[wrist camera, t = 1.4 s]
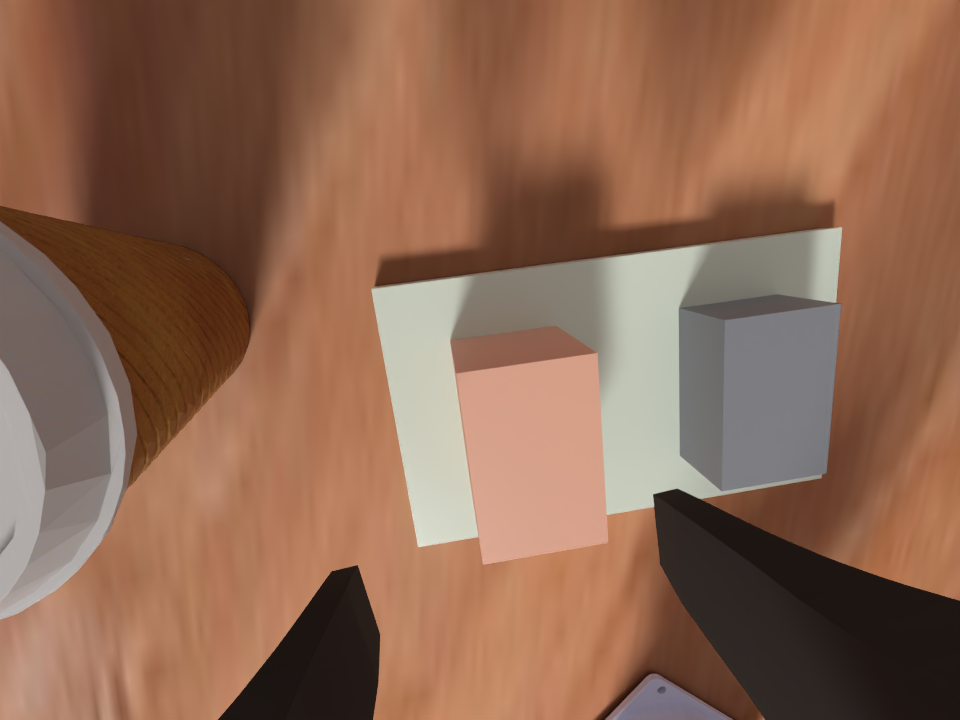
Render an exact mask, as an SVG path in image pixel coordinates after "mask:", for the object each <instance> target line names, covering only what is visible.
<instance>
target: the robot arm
mask: <svg viewBox="0 0 960 720" xmlns="http://www.w3.org/2000/svg"><path fill="white" fill-rule="evenodd" d="M653 499H654V509H655V518H656V528H657V537H658V546H659V556H660V565H661V566H662V568H663V570H664V572H665V574H666V576H667V577H668V579H669V581H670V583H671V585H672V587H673V588H674V590H675V592H676V593H677V595H678V597H679V599H680V600H681V602H682V604H683V605H684V607H685V608H686V610H687V611H688V612H689V614H690V615H691V617H692V618H693V619H694V621H695V622H696V624H697V625H698V626H699V628H700V629H701V631H702V632H703V633H704V635H705V636H706V638H707V639H708V640H709V642H710V643H711V644H712V646H713V647H714V648H715V650H716V651H717V653H718V654H719V655H720V657H721V658H722V659H723V661H724V662H725V664H726V665H727V666H728V668H729V669H730V670H731V672H732V673H733V675H734V676H735V677H736V679H737V680H738V681H739V683H740V684H741V686H742V687H743V688H744V690H745V691H746V692H747V694H748V695H749V697H750V698H751V699H752V701H753V702H754V704H755V705H756V707H757V708H758V710H759V711H760V712H761V714H762V715H763V717H764V718H765V720H960V601H959V600H955V599H951V598H948V597H945V596H941V595H938V594H934V593H931V592H928V591H924V590H921V589H917V588H914V587H911V586H907V585H904V584H901V583H898V582H895V581H892V580H888V579H885V578H882V577H879V576H877V575H874V574H871V573H868V572H865V571H862V570H860V569H857V568H854V567H851V566H848V565H846V564H843V563H840V562H837V561H835V560H832V559H830V558H827V557H824V556H822V555H819V554H817V553H815V552H812V551H810V550H807V549H805V548H803V547H800V546H798V545H796V544H793V543H791V542H788V541H786V540H784V539H782V538H779V537H777V536H775V535H773V534H771V533H768V532H766V531H764V530H762V529H760V528H758V527H755V526H753V525H751V524H749V523H747V522H745V521H743V520H741V519H739V518H737V517H735V516H733V515H731V514H729V513H727V512H725V511H723V510H721V509H719V508H717V507H715V506H713V505H711V504H709V503H707V502H705V501H703V500H701V499H699V498H697V497H694V496H692V495H690V494H688V493H686V492H684V491H682V490H680V489H673V490H669V491H665V492H660V493H656V494H653ZM379 652H380V633H379V630H378V627H377V624H376V620H375V617H374V614H373V611H372V608H371V605H370V602H369V599H368V596H367V593H366V590H365V587H364V583H363V580H362V577H361V574H360V571H359V568H358V565H357V566H352V567H348V568H344V569H340V570H336V571H332V572H331V573H330V575H329V576H328V577H327V579H326V580H325V581H324V583H323V584H322V586H321V587H320V588H319V590H318V591H317V593H316V594H315V595H314V597H313V598H312V600H311V601H310V602H309V604H308V605H307V607H306V608H305V610H304V611H303V612H302V614H301V615H300V617H299V618H298V619H297V621H296V622H295V623H294V625H293V626H292V627H291V629H290V630H289V632H288V633H287V634H286V636H285V637H284V638H283V640H282V641H281V643H280V644H279V645H278V647H277V648H276V649H275V651H274V652H273V653H272V654H271V656H270V657H269V658H268V659H267V661H266V662H265V663H264V664H263V666H262V667H261V668H260V669H259V671H258V672H257V673H256V674H255V676H254V677H253V678H252V679H251V681H250V682H249V683H248V685H247V686H246V687H245V688H244V690H243V691H242V692H241V693H240V695H239V696H238V697H237V698H236V699H235V700H234V702H233V703H232V704H231V705H230V706H229V708H228V709H227V710H226V711H225V712H224V713H223V714H222V716H221V717H220V718H219V719H218V720H373V715H374V709H375V702H376V695H377V687H378V676H379ZM605 720H733V719H731V718H730V717H728V716H726V715H725V714H723V713H721V712H720V711H718V710H716V709H715V708H713V707H711V706H710V705H708V704H706V703H705V702H703V701H702V700H700V699H698V698H697V697H695V696H693V695H692V694H690V693H688V692H687V691H685V690H683V689H682V688H680V687H678V686H677V685H675V684H673V683H672V682H670V681H668V680H667V679H665V678H663V677H662V676H660V675H658V674H650V675H648V676H647V677H646V678H645V679H644V680H643V681H642V682H641V683H640V684H639V685H638V686H637V687H636V688H635V689H634V690H633V691H632V692H631V693H630V694H629V695H628V696H627V697H626V698H625V699H624V700H623V702H622V703H621V704H620V705H619V706H618V707H617V708H616V709H615V710H614V711H613V712H612V713H611V714H610V715H609V716H608V717H607V718H606V719H605Z"/></svg>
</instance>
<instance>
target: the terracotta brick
mask: <svg viewBox="0 0 960 720" xmlns="http://www.w3.org/2000/svg"><path fill="white" fill-rule="evenodd" d="M450 344H451V351H452V358H453V365H454V372H455V379H456V386H457V394H458V401H459V408H460V415H461V422H462V429H463V436H464V443H465V450H466V457H467V464H468V471H469V478H470V485H471V492H472V498H473V505H474V511H475V517H476V523H477V530H478V536H479V542H480V548H481V555H482V561H483V565H484V564H490V563H495V562H501V561H507V560H513V559H518V558H524V557H530V556H535V555H541V554H547V553H553V552H558V551H564V550H570V549H575V548H581V547H587V546H592V545H598V544H604V543H608V530H607V512H606V494H605V476H604V458H603V440H602V422H601V404H600V386H599V368H598V353H597V352H595V351H594V350H592V349H591V348H589V347H588V346H586V345H585V344H583V343H582V342H580V341H579V340H577V339H576V338H574V337H573V336H571V335H570V334H568V333H567V332H565V331H564V330H562V329H561V328H559V327H557V326H549V327H541V328H534V329H527V330H520V331H513V332H506V333H499V334H492V335H484V336H477V337H470V338H463V339H456V340H450Z"/></svg>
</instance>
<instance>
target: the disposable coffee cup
mask: <svg viewBox="0 0 960 720" xmlns="http://www.w3.org/2000/svg"><path fill="white" fill-rule="evenodd" d="M249 336H250V330H249V317H248V313H247V310H246V306H245V303H244V300H243V298H242V296H241V294H240V292H239V290H238V289H237V287H236V286H235V284H234V283H233V282H232V280H231V279H230V277H229V276H228V275H227V274H226V273H225V272H224V271H223V270H222V269H221V268H220V267H219V266H217V265H216V264H215V263H213V262H212V261H211V260H209V259H208V258H206V257H205V256H203V255H201V254H199V253H197V252H195V251H193V250H191V249H188V248H186V247H182V246H178V245H175V244H171V243H164V242H160V241H155V240H151V239H146V238H142V237H137V236H132V235H128V234H124V233H119V232H114V231H110V230H106V229H102V228H97V227H92V226H88V225H84V224H79V223H74V222H70V221H65V220H60V219H56V218H52V217H48V216H42V215H37V214H33V213H28V212H24V211H20V210H15V209H11V208H7V207H3V206H0V620H1V619H3V618H6V617H9V616H12V615H15V614H17V613H19V612H21V611H23V610H24V609H26V608H28V607H29V606H31V605H33V604H34V603H36V602H38V601H39V600H41V599H42V598H44V597H46V596H47V595H49V594H51V593H52V592H54V591H56V590H57V589H58V588H59V587H60V586H61V585H62V584H63V583H65V582H66V581H67V580H68V579H69V578H70V577H71V576H73V575H74V574H75V573H76V572H77V571H78V570H79V569H80V568H81V567H82V565H83V564H84V563H85V561H86V560H87V559H88V558H89V556H90V555H91V554H92V553H93V551H94V550H95V549H96V548H97V546H98V545H99V544H100V543H101V541H102V540H103V539H104V537H105V536H106V535H107V533H108V532H109V531H110V528H111V526H112V523H113V521H114V518H115V516H116V513H117V511H118V508H119V506H120V503H121V501H122V498H123V496H124V493H125V492H126V490H127V489H128V487H129V486H131V485H132V484H133V483H134V482H135V481H136V479H137V478H138V477H139V475H140V474H141V473H142V472H144V471H145V470H146V469H147V467H148V466H149V465H150V464H151V462H152V461H153V460H155V459H156V458H157V457H158V455H159V454H160V453H161V451H162V450H163V449H164V448H165V447H166V446H167V445H168V444H169V443H170V441H171V440H172V439H173V438H175V437H176V436H177V434H178V433H179V431H180V430H182V429H183V428H184V427H185V425H186V424H187V423H188V422H189V421H190V420H191V419H192V418H193V416H194V415H195V414H196V413H197V412H198V411H199V410H200V409H201V407H202V406H203V405H204V404H205V403H206V402H207V401H208V399H209V398H211V397H212V396H213V394H214V393H215V392H216V391H217V390H218V389H219V388H220V386H221V385H223V383H224V382H225V381H226V380H227V379H228V378H229V377H230V376H231V375H232V374H233V373H234V372H235V370H236V369H237V368H238V366H239V365H240V363H241V362H242V360H243V357H244V355H245V352H246V349H247V347H248V342H249Z"/></svg>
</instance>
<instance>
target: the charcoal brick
mask: <svg viewBox="0 0 960 720" xmlns="http://www.w3.org/2000/svg"><path fill="white" fill-rule="evenodd" d="M840 311H841V304H840V303H833V302H826V301H819V300H813V299H806V298H799V297H792V296H785V295H778V294H776V295H769V296H762V297H755V298H748V299H741V300H734V301H727V302H719V303H712V304H705V305H698V306H691V307H684V308H679V422H680V456H681V457H682V458H683V459H684V460H685V461H687V462H688V463H689V464H690V465H691V466H692V467H694V468H695V469H696V470H697V471H698V472H699V473H701V474H702V475H703V476H704V477H705V478H707V479H708V480H709V481H710V482H711V483H712V484H714V485H715V486H716V487H717V488H718V489H719V490H721V491H727V490H733V489H739V488H745V487H751V486H757V485H763V484H768V483H774V482H780V481H786V480H792V479H798V478H804V477H810V476H815V475H821V474H827V463H828V451H829V439H830V428H831V416H832V404H833V393H834V381H835V369H836V358H837V346H838V334H839V322H840Z"/></svg>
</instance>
